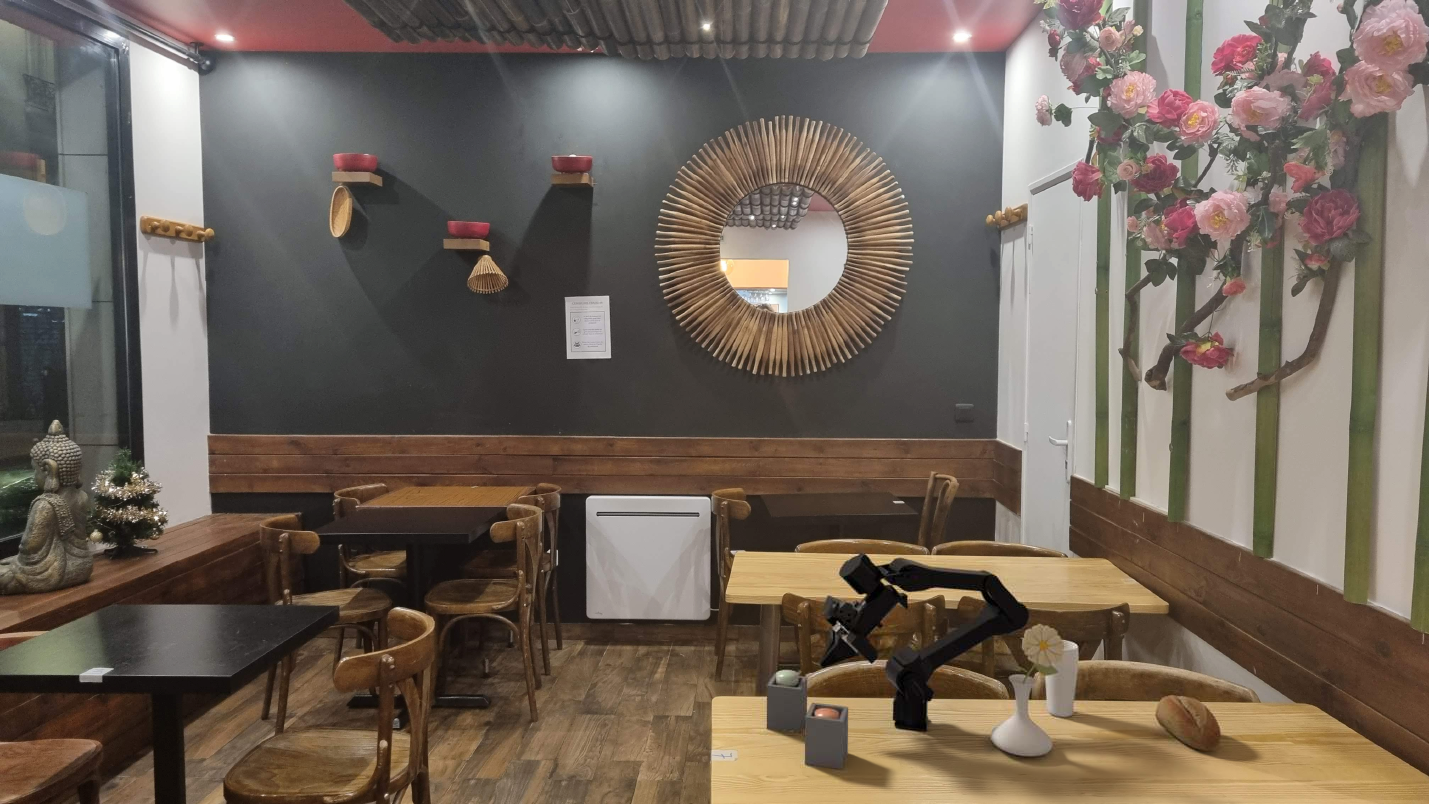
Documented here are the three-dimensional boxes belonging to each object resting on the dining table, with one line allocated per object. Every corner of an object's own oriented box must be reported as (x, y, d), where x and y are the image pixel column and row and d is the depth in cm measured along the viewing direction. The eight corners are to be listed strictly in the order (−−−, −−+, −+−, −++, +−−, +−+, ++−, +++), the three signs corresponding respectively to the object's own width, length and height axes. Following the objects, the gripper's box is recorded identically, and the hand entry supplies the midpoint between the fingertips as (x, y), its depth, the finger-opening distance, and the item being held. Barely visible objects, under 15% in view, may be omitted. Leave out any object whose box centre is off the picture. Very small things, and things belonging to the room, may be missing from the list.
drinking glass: (1080, 721, 176) (1082, 650, 175) (1046, 718, 177) (1047, 648, 176) (1073, 707, 182) (1074, 640, 181) (1040, 705, 183) (1041, 638, 183)
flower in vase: (989, 756, 160) (991, 627, 158) (991, 731, 170) (993, 610, 169) (1063, 768, 155) (1066, 636, 154) (1060, 742, 166) (1063, 618, 165)
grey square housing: (847, 752, 161) (848, 706, 161) (842, 769, 154) (842, 722, 154) (811, 747, 163) (812, 702, 163) (804, 764, 157) (805, 717, 156)
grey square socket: (806, 718, 176) (807, 677, 176) (800, 733, 169) (800, 689, 169) (774, 714, 178) (774, 673, 178) (766, 728, 172) (766, 685, 171)
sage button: (800, 683, 175) (800, 671, 175) (795, 691, 171) (796, 679, 170) (778, 680, 176) (779, 668, 176) (773, 688, 172) (774, 676, 172)
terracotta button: (840, 722, 160) (841, 709, 160) (837, 732, 156) (837, 719, 155) (817, 719, 161) (817, 706, 161) (812, 729, 157) (812, 716, 157)
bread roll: (1185, 756, 160) (1186, 716, 160) (1141, 722, 175) (1142, 685, 175) (1234, 755, 161) (1235, 715, 160) (1186, 722, 176) (1187, 684, 175)
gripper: (831, 571, 179) (781, 625, 178) (863, 595, 161) (807, 656, 159) (866, 605, 181) (817, 659, 179) (901, 633, 163) (846, 693, 161)
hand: (821, 665), depth 170 cm, fingers closed
